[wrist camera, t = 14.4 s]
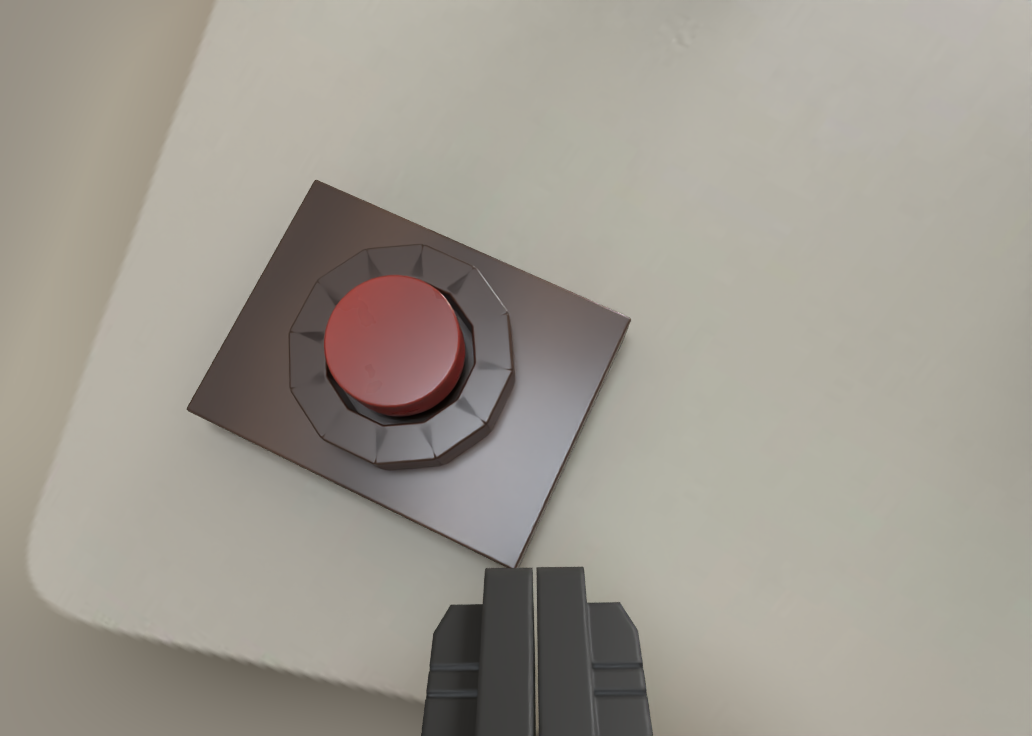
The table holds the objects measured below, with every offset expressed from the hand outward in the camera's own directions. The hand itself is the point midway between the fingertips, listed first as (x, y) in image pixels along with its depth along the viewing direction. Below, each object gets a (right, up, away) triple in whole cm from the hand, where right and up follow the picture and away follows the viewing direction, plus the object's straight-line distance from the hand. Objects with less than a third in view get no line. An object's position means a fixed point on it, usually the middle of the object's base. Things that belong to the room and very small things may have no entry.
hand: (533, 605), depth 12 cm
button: (-4, +4, +13) cm, 14 cm away
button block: (-4, +3, +16) cm, 17 cm away
